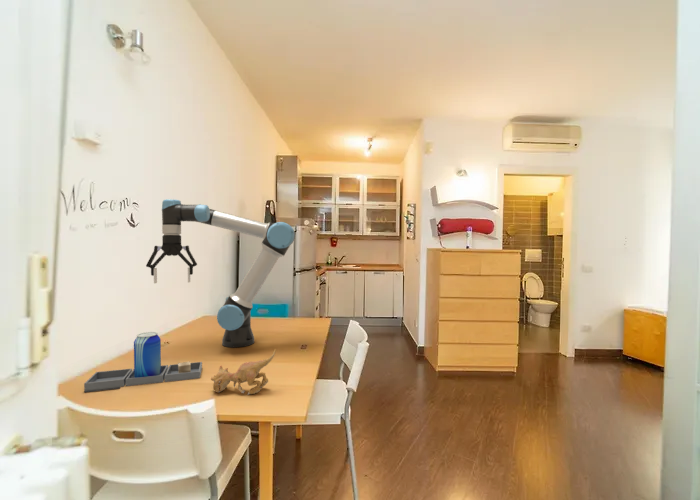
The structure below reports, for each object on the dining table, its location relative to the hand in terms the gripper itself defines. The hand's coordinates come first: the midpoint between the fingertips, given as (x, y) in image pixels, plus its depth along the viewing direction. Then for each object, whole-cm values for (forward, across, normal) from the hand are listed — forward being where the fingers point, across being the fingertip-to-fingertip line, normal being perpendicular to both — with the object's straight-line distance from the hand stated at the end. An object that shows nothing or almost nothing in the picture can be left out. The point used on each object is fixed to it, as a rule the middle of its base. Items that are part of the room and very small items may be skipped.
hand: (172, 282), depth 163 cm
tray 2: (+32, -8, +32) cm, 46 cm away
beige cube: (+31, -8, +32) cm, 45 cm away
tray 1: (+32, +16, +32) cm, 48 cm away
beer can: (+31, +4, +32) cm, 45 cm away
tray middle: (+32, +4, +32) cm, 45 cm away
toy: (+32, -28, +53) cm, 68 cm away
